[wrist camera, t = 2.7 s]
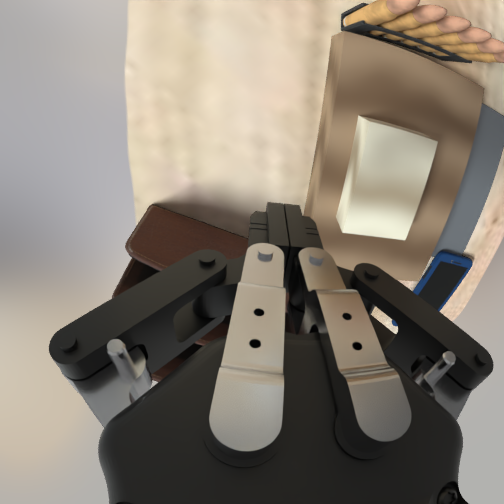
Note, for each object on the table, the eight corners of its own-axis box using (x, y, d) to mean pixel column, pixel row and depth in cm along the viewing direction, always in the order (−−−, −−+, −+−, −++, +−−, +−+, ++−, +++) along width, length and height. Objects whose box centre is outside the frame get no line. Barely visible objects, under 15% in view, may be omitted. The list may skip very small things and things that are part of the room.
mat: (458, 91, 19) (460, 91, 19) (508, 119, 19) (509, 120, 19) (409, 253, 31) (409, 254, 30) (458, 258, 31) (459, 259, 31)
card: (358, 115, 18) (369, 121, 16) (422, 133, 19) (438, 141, 17) (335, 217, 24) (342, 232, 22) (395, 225, 24) (405, 240, 22)
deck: (331, 36, 18) (344, 30, 15) (460, 82, 18) (484, 88, 15) (296, 249, 31) (300, 273, 28) (406, 259, 31) (418, 281, 28)
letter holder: (281, 316, 38) (285, 414, 26) (137, 269, 34) (94, 363, 22) (320, 263, 32) (343, 371, 21) (151, 201, 28) (89, 298, 17)
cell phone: (389, 322, 38) (391, 326, 37) (439, 248, 30) (442, 252, 29) (424, 325, 38) (425, 328, 38) (472, 258, 30) (475, 261, 30)
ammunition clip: (340, 31, 17) (402, 6, 8) (341, 13, 16) (401, -22, 7) (442, 60, 17) (531, 77, 8) (443, 44, 16) (532, 53, 7)
